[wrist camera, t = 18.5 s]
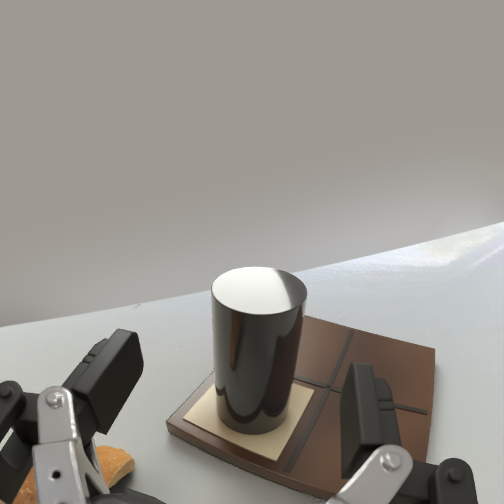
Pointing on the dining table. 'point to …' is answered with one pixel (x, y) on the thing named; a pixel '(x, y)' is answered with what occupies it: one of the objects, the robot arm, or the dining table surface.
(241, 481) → the dining table surface
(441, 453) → the dining table surface
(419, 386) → the board
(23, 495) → the pottery shard
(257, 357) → the dark grey cylinder
